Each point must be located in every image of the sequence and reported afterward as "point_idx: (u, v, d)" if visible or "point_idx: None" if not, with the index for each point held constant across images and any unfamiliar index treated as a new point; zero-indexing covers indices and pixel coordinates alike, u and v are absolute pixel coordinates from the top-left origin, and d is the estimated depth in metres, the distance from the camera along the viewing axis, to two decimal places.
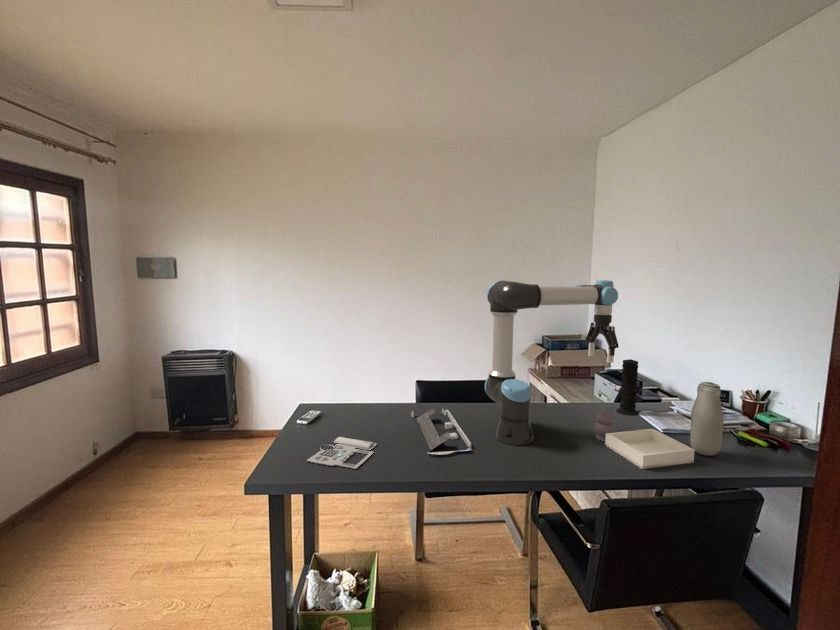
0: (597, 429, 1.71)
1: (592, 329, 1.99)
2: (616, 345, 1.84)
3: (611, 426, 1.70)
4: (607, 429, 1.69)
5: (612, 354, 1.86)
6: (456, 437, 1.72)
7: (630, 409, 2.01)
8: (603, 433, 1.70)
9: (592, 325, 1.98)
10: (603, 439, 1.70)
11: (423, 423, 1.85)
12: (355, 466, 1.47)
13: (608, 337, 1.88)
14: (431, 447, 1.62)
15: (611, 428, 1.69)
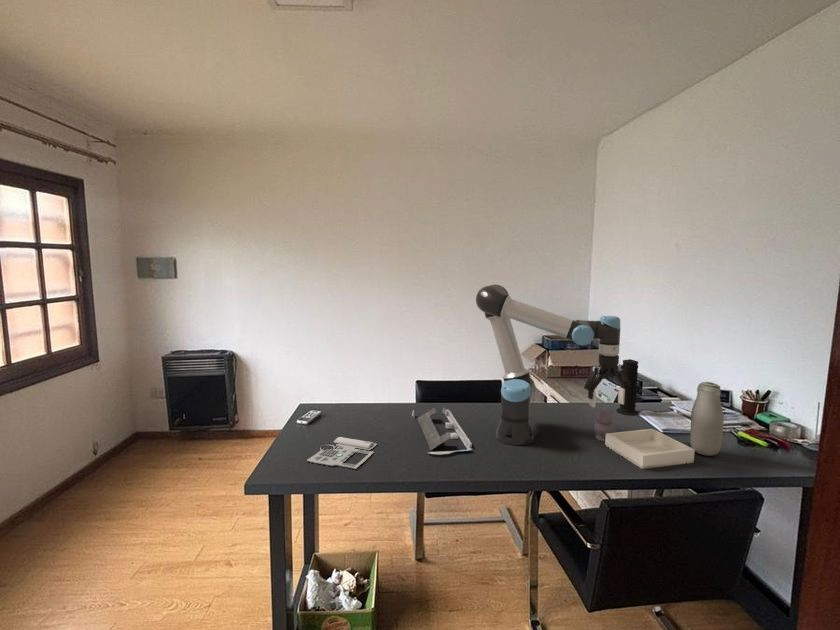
0: (597, 429, 1.71)
1: (620, 372, 1.72)
2: (586, 387, 1.68)
3: (611, 426, 1.70)
4: (607, 429, 1.69)
5: (589, 397, 1.69)
6: (456, 437, 1.72)
7: (630, 409, 2.01)
8: (603, 433, 1.70)
9: None
10: (603, 439, 1.70)
11: (423, 423, 1.85)
12: (355, 466, 1.47)
13: (596, 379, 1.69)
14: (431, 447, 1.62)
15: (611, 428, 1.69)
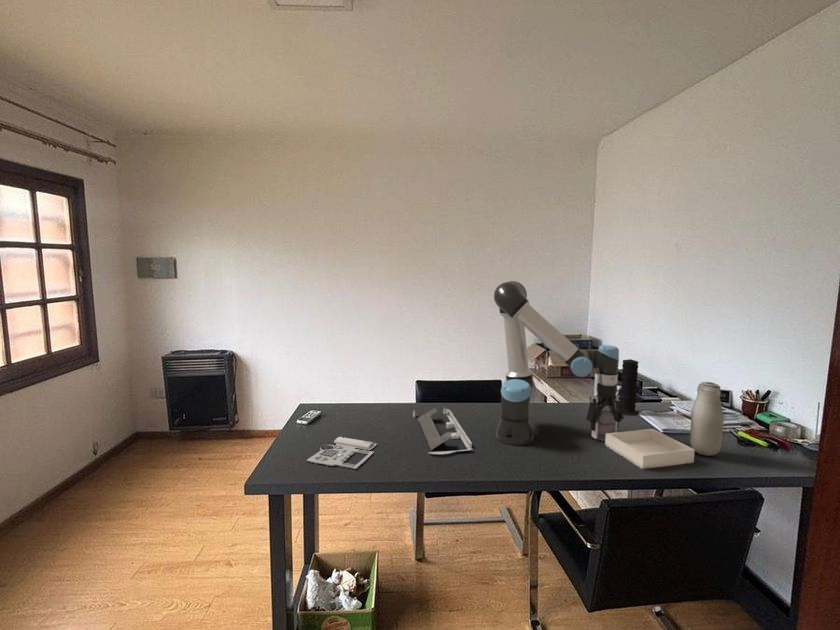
0: None
1: (616, 403, 1.73)
2: (588, 419, 1.70)
3: (611, 426, 1.70)
4: (607, 429, 1.69)
5: (591, 428, 1.72)
6: (457, 437, 1.72)
7: (630, 409, 2.01)
8: (603, 433, 1.70)
9: None
10: (603, 439, 1.70)
11: (424, 423, 1.86)
12: (355, 466, 1.47)
13: (596, 409, 1.71)
14: (432, 447, 1.63)
15: (611, 428, 1.69)
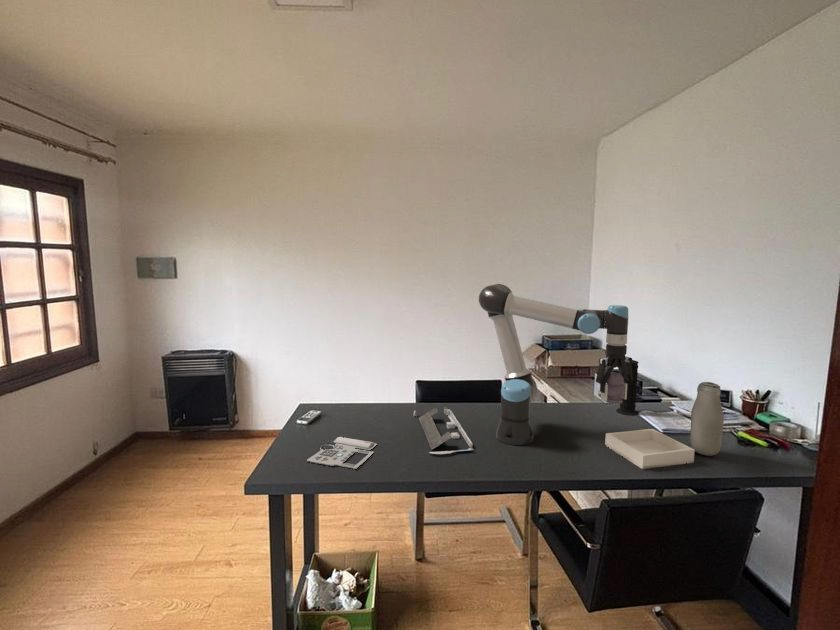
0: (607, 391, 1.67)
1: (626, 364, 1.69)
2: (598, 380, 1.66)
3: (621, 388, 1.66)
4: (617, 391, 1.65)
5: (600, 390, 1.67)
6: (457, 437, 1.73)
7: (630, 409, 2.01)
8: (613, 395, 1.65)
9: None
10: (613, 401, 1.66)
11: (425, 423, 1.86)
12: (355, 466, 1.47)
13: (605, 371, 1.67)
14: (432, 447, 1.63)
15: (621, 389, 1.65)
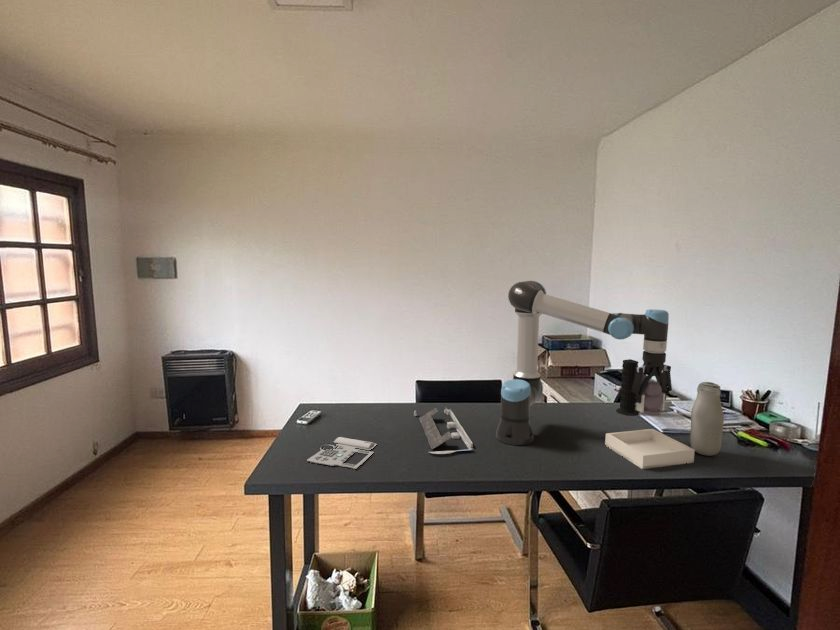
0: None
1: (664, 373, 1.58)
2: (634, 390, 1.54)
3: (659, 398, 1.54)
4: (655, 402, 1.53)
5: (636, 401, 1.56)
6: (458, 437, 1.73)
7: (630, 409, 2.01)
8: (650, 406, 1.54)
9: None
10: (650, 412, 1.55)
11: (425, 423, 1.86)
12: (355, 466, 1.47)
13: (642, 380, 1.55)
14: (432, 446, 1.63)
15: (659, 400, 1.53)
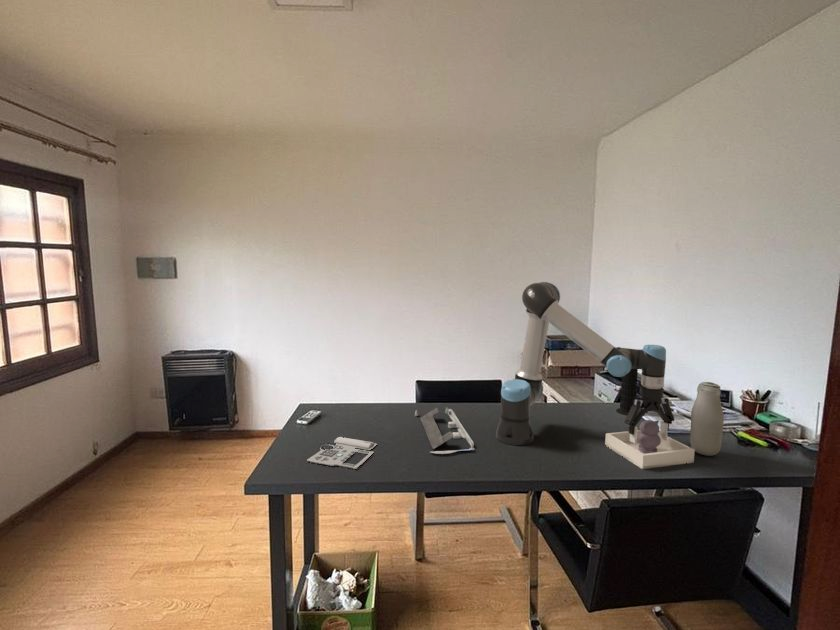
0: (641, 440, 1.57)
1: (663, 405, 1.59)
2: (627, 421, 1.55)
3: (657, 437, 1.56)
4: (652, 441, 1.55)
5: (629, 432, 1.57)
6: (459, 436, 1.73)
7: None
8: (648, 445, 1.56)
9: None
10: (647, 451, 1.56)
11: (426, 422, 1.86)
12: (355, 466, 1.47)
13: (637, 413, 1.57)
14: (434, 446, 1.63)
15: (657, 440, 1.55)
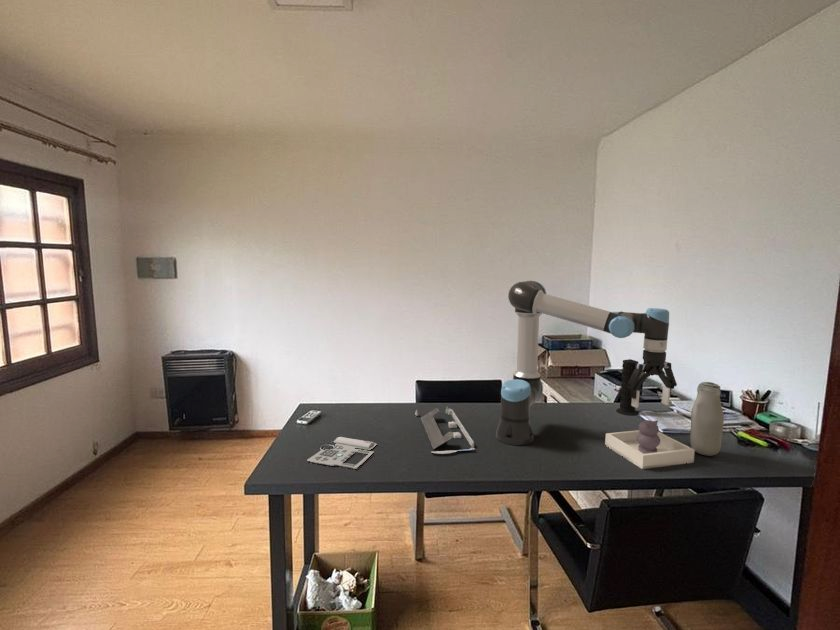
0: (640, 441, 1.57)
1: (665, 370, 1.58)
2: (629, 385, 1.54)
3: (656, 438, 1.56)
4: (652, 441, 1.55)
5: (631, 396, 1.55)
6: (459, 436, 1.73)
7: (630, 409, 2.01)
8: (647, 445, 1.56)
9: None
10: (647, 452, 1.56)
11: (426, 422, 1.86)
12: (355, 466, 1.47)
13: (640, 377, 1.55)
14: (434, 446, 1.63)
15: (656, 440, 1.55)
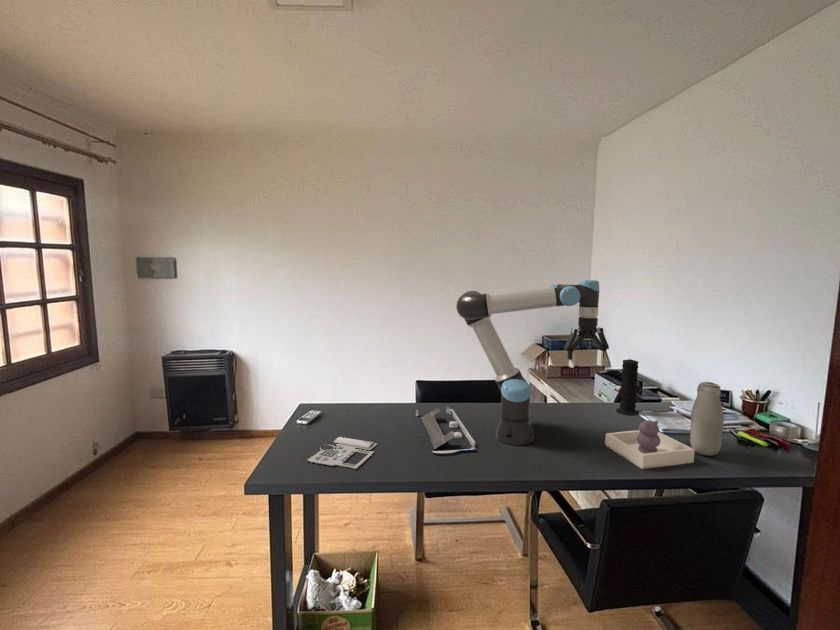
0: (641, 441, 1.57)
1: (599, 335, 1.78)
2: (566, 348, 1.74)
3: (656, 438, 1.56)
4: (652, 442, 1.55)
5: (568, 357, 1.76)
6: (460, 436, 1.73)
7: (630, 409, 2.01)
8: (647, 445, 1.56)
9: None
10: (647, 452, 1.56)
11: (427, 422, 1.86)
12: (355, 466, 1.47)
13: (575, 340, 1.76)
14: (435, 446, 1.63)
15: (656, 440, 1.55)
